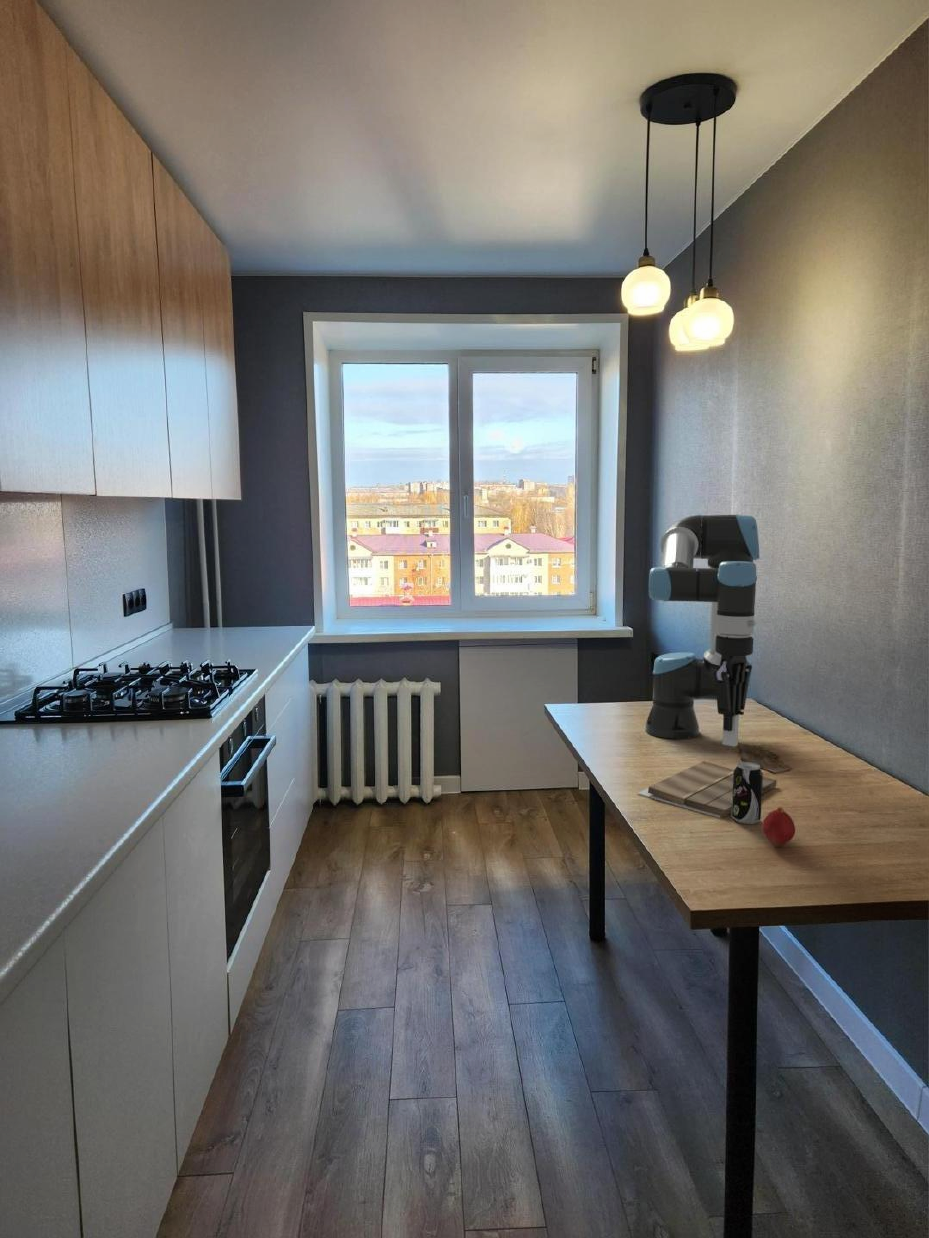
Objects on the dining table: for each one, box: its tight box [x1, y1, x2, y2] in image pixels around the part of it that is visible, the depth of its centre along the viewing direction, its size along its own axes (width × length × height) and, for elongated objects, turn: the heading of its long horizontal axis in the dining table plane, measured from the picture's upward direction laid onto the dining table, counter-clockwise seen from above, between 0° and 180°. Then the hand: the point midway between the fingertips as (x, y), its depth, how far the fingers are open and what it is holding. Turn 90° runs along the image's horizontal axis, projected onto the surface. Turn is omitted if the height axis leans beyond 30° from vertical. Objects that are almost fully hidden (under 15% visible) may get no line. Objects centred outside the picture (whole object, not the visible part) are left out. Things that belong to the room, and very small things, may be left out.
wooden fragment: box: [738, 742, 794, 775], centre depth 203 cm, size 26×11×1 cm, turn 177°
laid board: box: [686, 775, 778, 818], centre depth 174 cm, size 26×9×2 cm, turn 135°
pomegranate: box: [761, 806, 796, 848], centre depth 148 cm, size 6×6×8 cm
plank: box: [647, 760, 734, 805], centre depth 181 cm, size 26×9×2 cm, turn 135°
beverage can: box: [731, 761, 764, 825], centre depth 160 cm, size 6×6×12 cm
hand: (729, 744), depth 164 cm, fingers closed
